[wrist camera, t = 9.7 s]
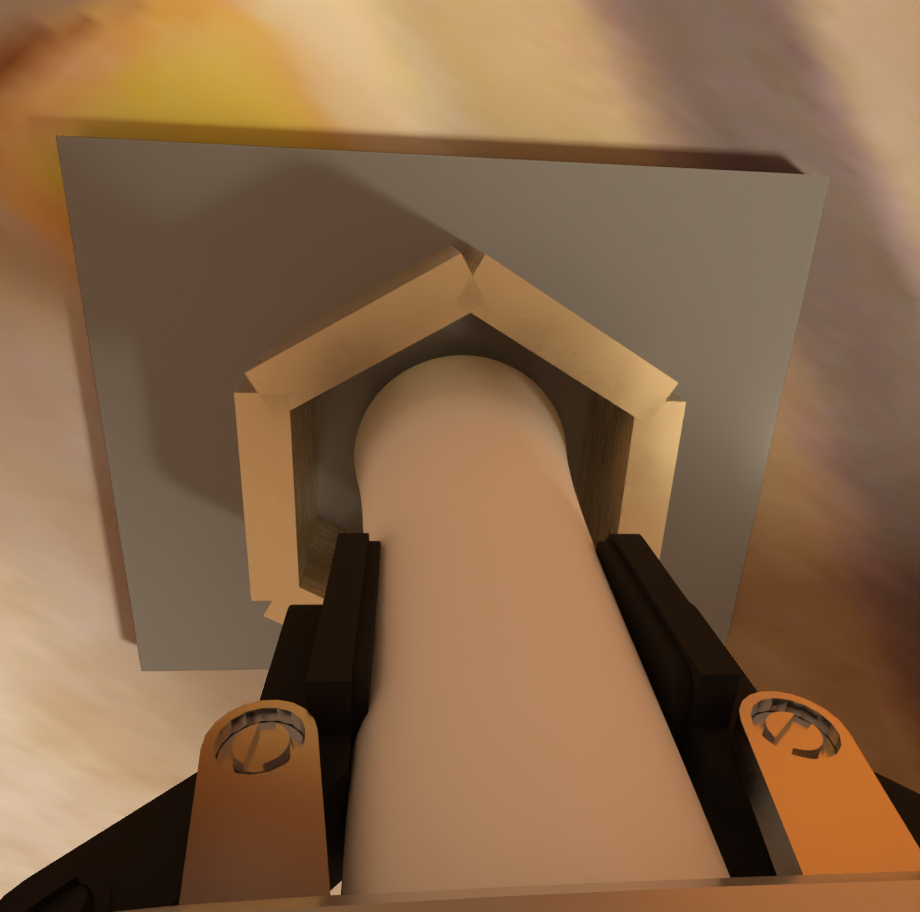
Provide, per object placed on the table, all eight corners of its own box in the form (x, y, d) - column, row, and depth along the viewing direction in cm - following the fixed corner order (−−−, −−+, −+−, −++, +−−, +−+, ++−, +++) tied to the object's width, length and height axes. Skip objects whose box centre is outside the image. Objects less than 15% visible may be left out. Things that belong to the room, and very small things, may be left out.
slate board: (809, 177, 19) (830, 175, 18) (709, 644, 24) (722, 662, 23) (75, 139, 17) (55, 135, 16) (152, 651, 22) (141, 670, 22)
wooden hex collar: (647, 251, 18) (709, 262, 14) (597, 611, 22) (636, 693, 18) (262, 236, 17) (221, 244, 13) (285, 614, 21) (259, 701, 17)
